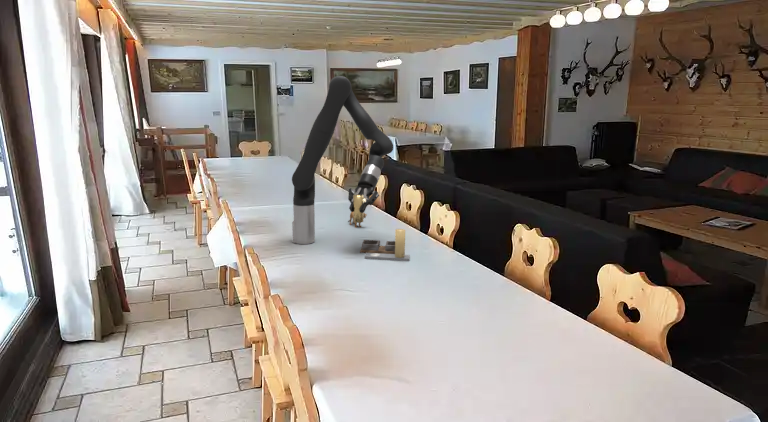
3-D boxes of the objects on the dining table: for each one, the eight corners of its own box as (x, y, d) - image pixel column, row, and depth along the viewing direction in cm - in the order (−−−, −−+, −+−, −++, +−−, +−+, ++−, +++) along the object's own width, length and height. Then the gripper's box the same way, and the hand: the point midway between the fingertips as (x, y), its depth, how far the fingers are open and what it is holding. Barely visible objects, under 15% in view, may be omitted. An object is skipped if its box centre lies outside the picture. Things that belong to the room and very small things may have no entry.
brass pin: (352, 222, 207) (352, 196, 205) (354, 220, 211) (354, 194, 208) (362, 222, 207) (362, 196, 204) (363, 220, 211) (363, 194, 208)
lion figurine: (367, 228, 252) (368, 210, 250) (359, 229, 249) (359, 211, 247) (352, 221, 264) (352, 205, 262) (343, 223, 260) (343, 206, 258)
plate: (364, 258, 204) (365, 230, 202) (366, 255, 209) (366, 227, 207) (409, 261, 203) (410, 232, 200) (409, 257, 208) (410, 229, 205)
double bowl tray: (360, 252, 212) (360, 244, 212) (362, 247, 220) (362, 239, 219) (402, 254, 211) (403, 246, 210) (404, 249, 219) (404, 241, 218)
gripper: (351, 171, 214) (337, 204, 206) (382, 173, 208) (368, 208, 200) (358, 181, 220) (344, 214, 212) (387, 184, 214) (374, 218, 206)
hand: (356, 211), depth 206 cm, fingers closed on brass pin, 4 cm apart
